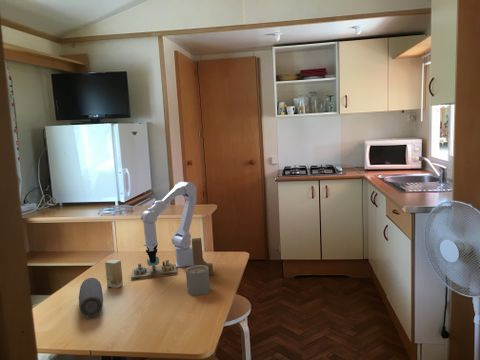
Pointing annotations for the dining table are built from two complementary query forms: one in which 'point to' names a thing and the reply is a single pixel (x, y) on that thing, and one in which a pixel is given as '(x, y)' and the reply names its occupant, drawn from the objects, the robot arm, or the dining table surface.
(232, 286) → the dining table surface
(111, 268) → the skincare box
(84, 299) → the bluetooth speaker
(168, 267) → the gear board
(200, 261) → the wooden block
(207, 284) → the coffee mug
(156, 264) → the teal gear
